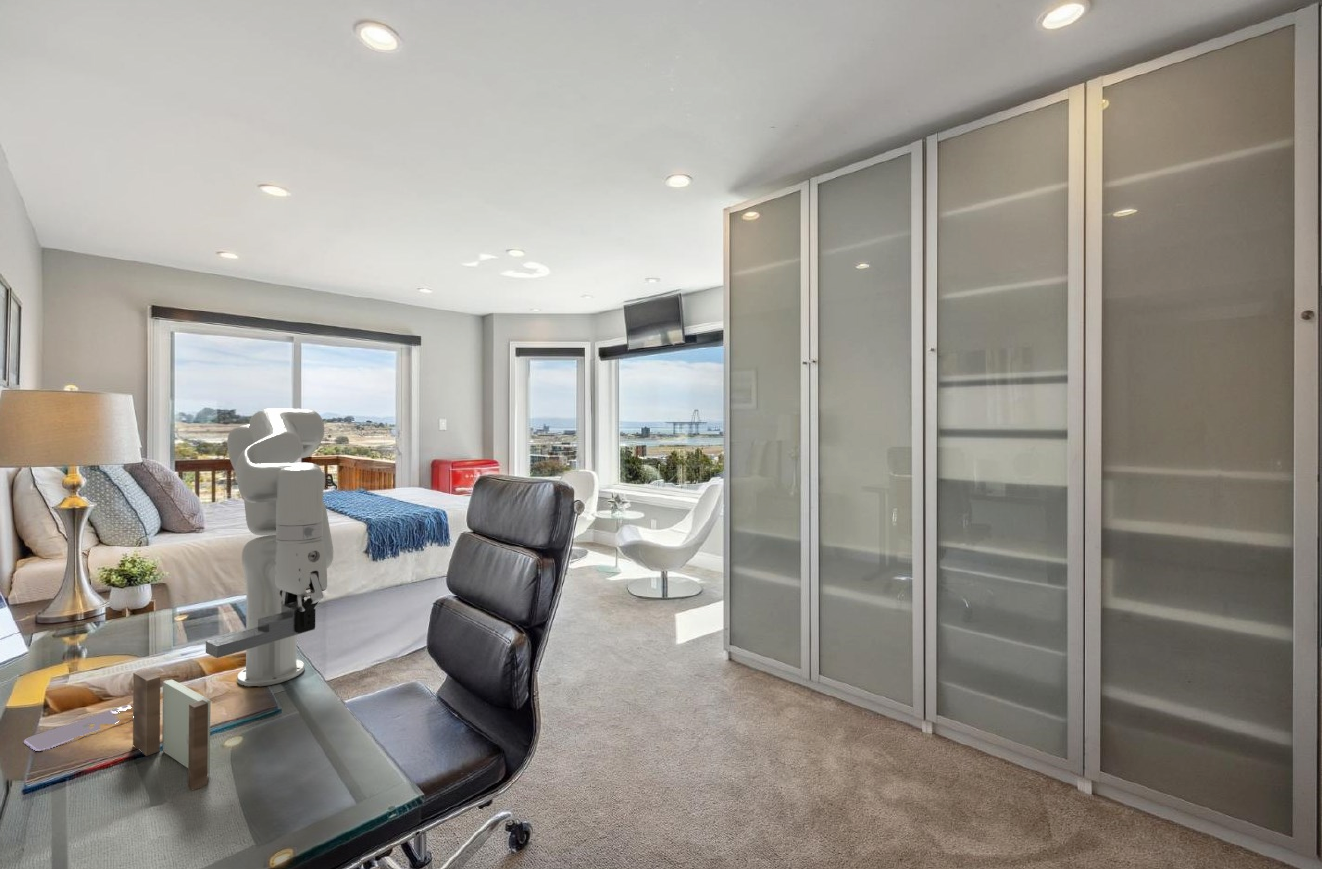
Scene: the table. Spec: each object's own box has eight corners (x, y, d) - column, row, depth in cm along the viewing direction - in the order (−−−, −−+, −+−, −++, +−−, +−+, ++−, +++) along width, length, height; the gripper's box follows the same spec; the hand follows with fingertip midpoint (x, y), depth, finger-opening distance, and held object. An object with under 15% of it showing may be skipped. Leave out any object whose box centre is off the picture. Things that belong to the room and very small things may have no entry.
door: (153, 752, 99) (153, 682, 99) (169, 745, 101) (169, 677, 100) (193, 780, 91) (194, 705, 91) (209, 773, 93) (210, 700, 93)
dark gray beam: (303, 625, 112) (303, 599, 112) (314, 629, 110) (315, 603, 110) (205, 652, 98) (205, 623, 98) (216, 658, 96) (217, 628, 96)
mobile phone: (21, 737, 102) (130, 702, 115) (21, 743, 102) (130, 707, 115) (37, 749, 98) (147, 711, 112) (37, 755, 98) (147, 716, 112)
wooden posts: (132, 746, 101) (133, 672, 101) (145, 741, 103) (146, 669, 102) (193, 790, 90) (194, 707, 89) (207, 784, 91) (207, 702, 91)
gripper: (345, 534, 108) (344, 631, 108) (296, 524, 116) (295, 614, 117) (303, 541, 101) (302, 644, 102) (255, 529, 110) (254, 625, 110)
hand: (298, 627), depth 109 cm, fingers closed on dark gray beam, 4 cm apart
